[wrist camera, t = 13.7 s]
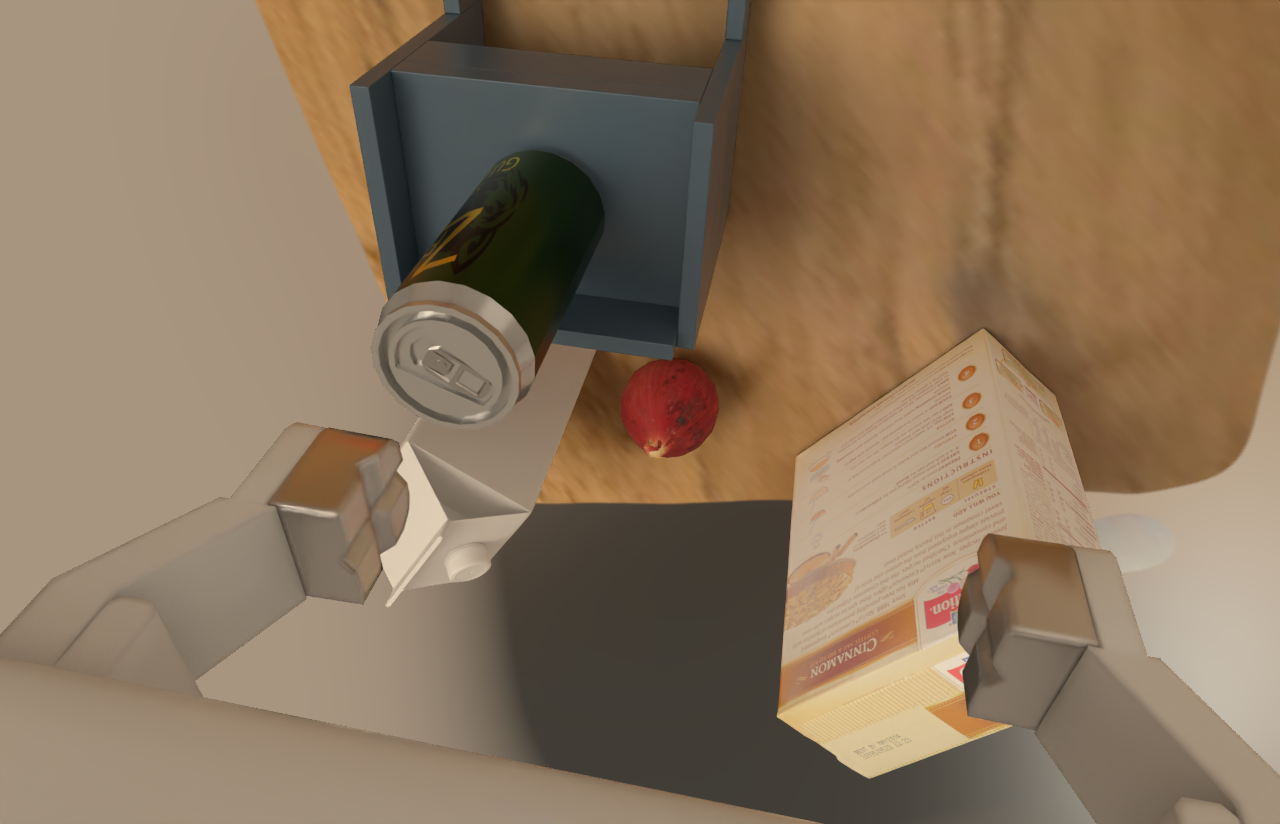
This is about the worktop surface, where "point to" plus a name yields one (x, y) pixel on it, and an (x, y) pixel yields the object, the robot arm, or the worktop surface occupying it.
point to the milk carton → (480, 479)
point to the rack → (579, 130)
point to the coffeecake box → (914, 550)
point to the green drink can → (490, 293)
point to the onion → (669, 407)
